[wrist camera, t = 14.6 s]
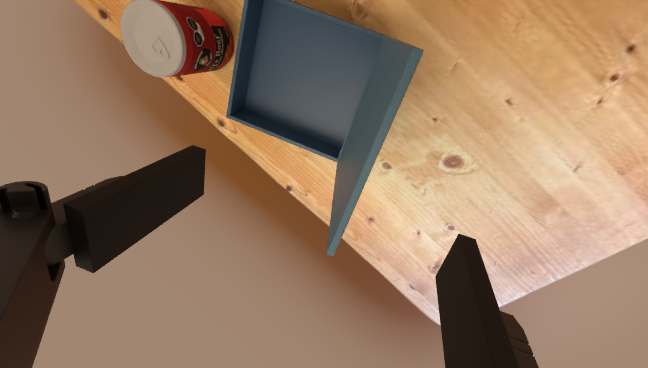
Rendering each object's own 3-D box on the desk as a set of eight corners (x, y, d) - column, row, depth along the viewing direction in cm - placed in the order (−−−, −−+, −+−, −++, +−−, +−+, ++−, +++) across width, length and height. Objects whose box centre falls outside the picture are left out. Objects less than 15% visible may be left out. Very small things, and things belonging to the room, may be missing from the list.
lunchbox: (242, 110, 45) (226, 117, 41) (263, -9, 38) (246, -15, 34) (346, 152, 44) (339, 163, 40) (390, 37, 36) (387, 36, 32)
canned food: (221, 81, 44) (169, 92, 35) (177, 46, 44) (111, 47, 34) (244, 34, 41) (193, 31, 31) (196, -5, 40) (129, -20, 30)
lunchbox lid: (326, 254, 24) (333, 256, 24) (414, 46, 16) (424, 50, 17) (336, 163, 40) (341, 165, 40) (384, 35, 32) (390, 37, 32)
